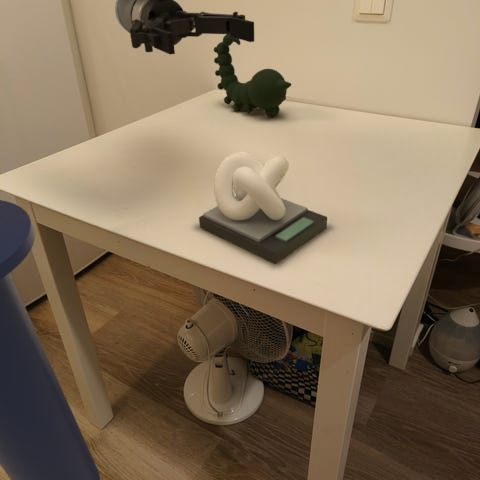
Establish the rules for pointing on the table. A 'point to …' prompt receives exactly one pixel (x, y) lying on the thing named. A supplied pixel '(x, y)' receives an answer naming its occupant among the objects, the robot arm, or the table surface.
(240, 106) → the toy figurine
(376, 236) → the table surface
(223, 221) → the scale
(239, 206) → the white knot sculpture
